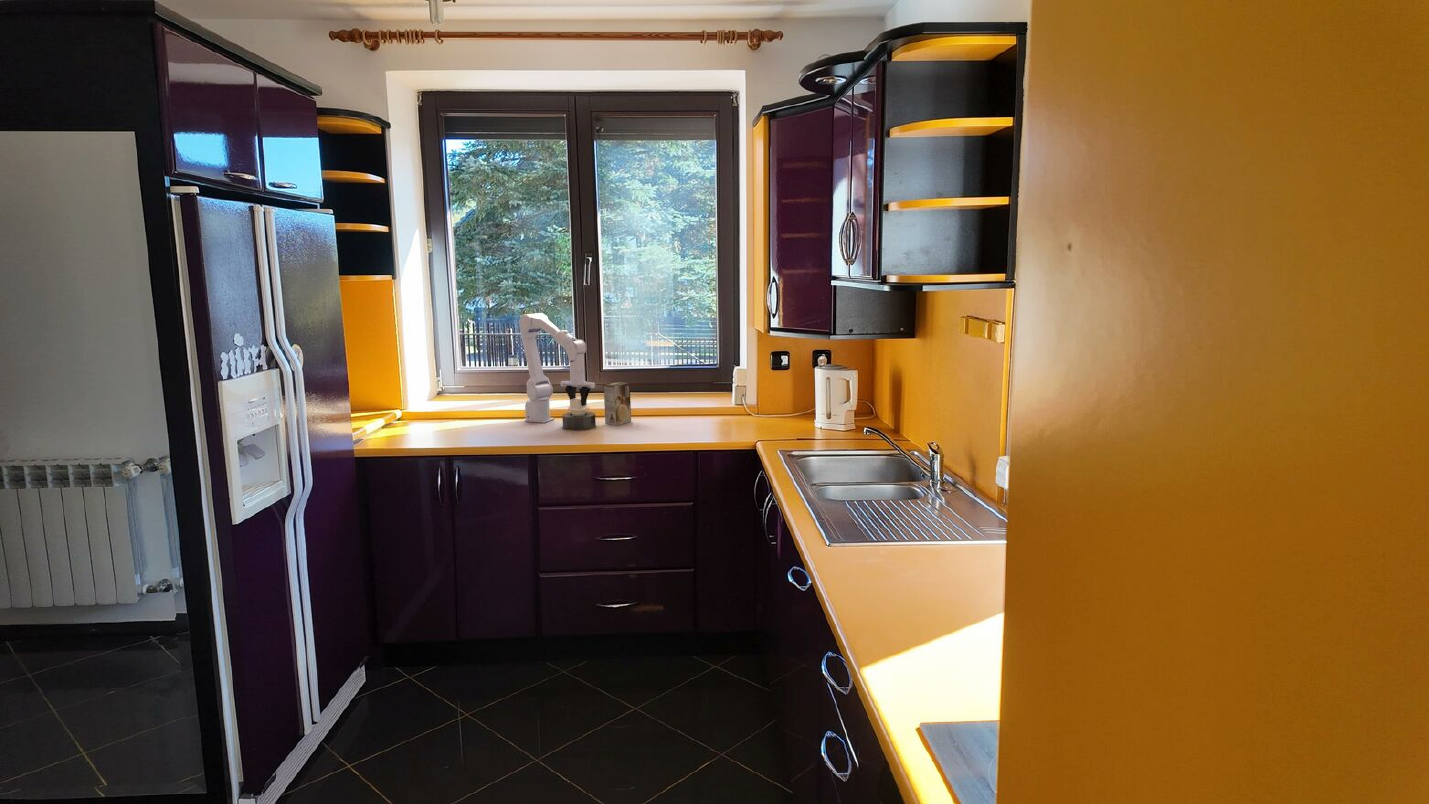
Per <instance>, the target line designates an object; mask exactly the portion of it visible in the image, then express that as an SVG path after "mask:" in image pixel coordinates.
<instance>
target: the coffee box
mask: <svg viewBox="0 0 1429 804" xmlns="http://www.w3.org/2000/svg"><path fill="white" fill-rule="evenodd" d="M603 399H604V400H603V401H604V404H603V405H604V423H605V424H606V425H613V426H618V425H622V424H623V425H624V424H626V423H630V422H632V409H631V408H632V406H631V402H632V401H631V384H630V382H623V381H616V382H612V383H607V384H603Z"/></svg>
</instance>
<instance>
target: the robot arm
mask: <svg viewBox="0 0 1429 804" xmlns="http://www.w3.org/2000/svg"><path fill="white" fill-rule="evenodd" d="M518 326H519V330H520V336H521V337H520V338H521V342H522V346H523V351H524V355H525V360H526V364H527V369H528V374H529V379H527V382H526V383H525V384H526V395H527V397H528V399H527V400H526V402H525V405H524V413H525V419H524V422H527V423H528V422H530V423H543V424H545V423H548V422H550V421H553V420H555V418H554V417H551V413H550V409H551V408H550V399H551V397H552V395H553V393H554V388H553V385H552V384H551V382H550V378H549V377H547V376H546V375H544V370H543V366H542V361H541V358H540V352H539V348H538V343H537V340H536V337H537V336H538V334H539V333H540V332H541V331H542V330H543V331H545V332H546V333H548V334H549V335H551V336H552V337H554V340H555V343H557V344H558V345H560V346H561V347H562V348H564V349H565V352H566V354H567V358H568V361H569V363H568V364H569V380H562V381H560V387H562V388H563V387H565V388H564V391H565V392H566V394H567V396H568V398H569V400H570V399H573V398H576V395H577V394H576V393H577V388H578V391H579V393H580V397H581V405H582V406H584V405H586V400H588V396H589V393H590V392H591V390H592V389H594V388H596V383H595V382H592V381H586V378H585V375H586V373H585V354H586V353H587V350H588V346H587V344H586V342H585V341H584V340H583V339H577V338H576V337H575V336H573V335H571V334H570V333H569V330H566V329H560V328H558V327H557V326H556V325H555V324H554V323H553V322H552V321H550V319H549V317H548V315H546V314H544V313H543V312H538V313H537V312H536V313H529V314H528V313H524V314H522V315H521V316H520V317H519V320H518Z"/></svg>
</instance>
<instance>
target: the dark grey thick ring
mask: <svg viewBox="0 0 1429 804" xmlns="http://www.w3.org/2000/svg"><path fill="white" fill-rule="evenodd" d="M561 417H562V429H564V430H566V431H585V430H591V429H592V430H593V429H594V428H597V427H596V426H597V425H596V423H597V422H596V412H593V411H588V410H586V415H584V416H572V411H569V412H564V413H562V415H561Z"/></svg>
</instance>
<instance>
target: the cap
mask: <svg viewBox="0 0 1429 804" xmlns="http://www.w3.org/2000/svg"><path fill="white" fill-rule="evenodd" d="M587 400H588V399H587ZM587 400H586V405H584V406H582V405H581V396H577V397H576V398H573V399H570V398H569V406H568V407H567V410H568V411H569V412H572V416H584V415H586V411H588V410H590V406H589V405H587V404H588V403H587Z"/></svg>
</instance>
